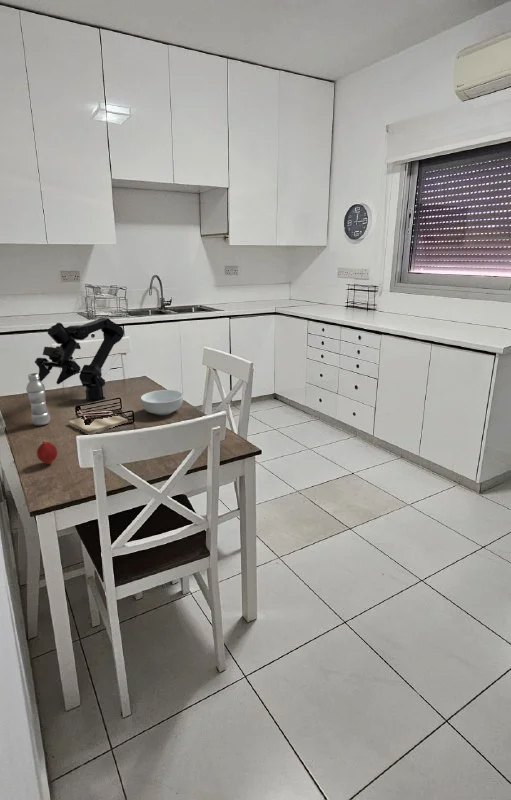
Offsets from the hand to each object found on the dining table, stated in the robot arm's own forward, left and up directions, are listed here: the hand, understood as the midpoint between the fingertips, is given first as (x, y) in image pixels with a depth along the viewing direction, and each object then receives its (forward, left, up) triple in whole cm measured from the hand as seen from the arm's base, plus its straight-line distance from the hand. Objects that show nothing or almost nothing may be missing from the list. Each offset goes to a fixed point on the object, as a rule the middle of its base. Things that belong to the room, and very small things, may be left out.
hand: (48, 382), depth 183 cm
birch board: (-9, +21, -15) cm, 27 cm away
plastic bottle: (+6, +4, -15) cm, 17 cm away
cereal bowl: (-34, +28, -15) cm, 46 cm away
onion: (+19, +42, -15) cm, 48 cm away
